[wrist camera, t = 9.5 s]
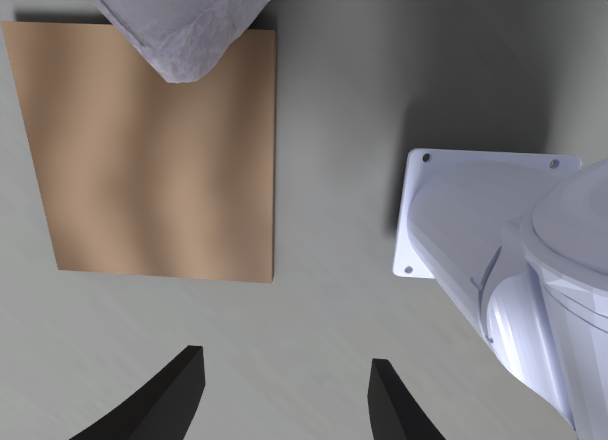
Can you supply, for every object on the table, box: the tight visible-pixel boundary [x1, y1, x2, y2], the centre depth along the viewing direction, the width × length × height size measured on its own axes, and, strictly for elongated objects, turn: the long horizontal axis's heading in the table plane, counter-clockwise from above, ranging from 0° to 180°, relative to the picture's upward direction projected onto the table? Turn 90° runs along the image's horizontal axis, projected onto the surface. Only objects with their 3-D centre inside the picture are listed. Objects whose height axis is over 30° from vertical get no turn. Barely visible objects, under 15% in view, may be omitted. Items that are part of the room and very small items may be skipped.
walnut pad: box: [1, 21, 277, 283], centre depth 19 cm, size 16×16×1 cm
